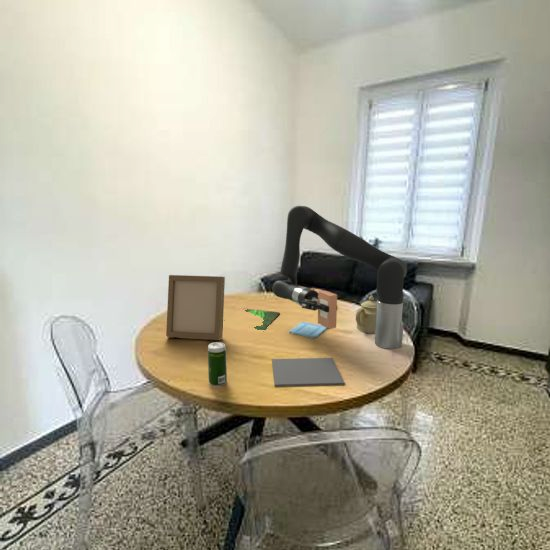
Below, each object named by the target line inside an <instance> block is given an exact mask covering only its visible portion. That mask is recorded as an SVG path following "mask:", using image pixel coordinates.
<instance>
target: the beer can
mask: <svg viewBox="0 0 550 550" xmlns="http://www.w3.org/2000/svg"><path fill="white" fill-rule="evenodd" d="M227 368H228V367H227V347H226V344H225V343H224V342H220V341H219V342H218V341H217V342H211V343H209V344H208V346H207V369H208V371H207V373H208V382H209V385H212V387H214V386H215V387H214V388H217V387H219V386H220V387H222V386H225V385H226V383H227V381H228V373H227V372H228V371H227V370H228V369H227ZM224 384H225V385H224Z"/></svg>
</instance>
